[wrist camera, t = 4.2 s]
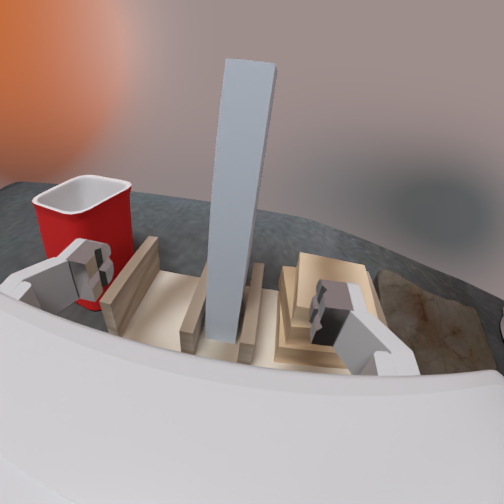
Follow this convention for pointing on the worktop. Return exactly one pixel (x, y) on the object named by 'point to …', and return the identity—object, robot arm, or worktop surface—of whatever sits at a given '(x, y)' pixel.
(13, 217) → the worktop surface
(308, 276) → the offcut stack
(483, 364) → the brown flat slab
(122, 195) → the mug
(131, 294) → the offcut rack
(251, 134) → the tall board
